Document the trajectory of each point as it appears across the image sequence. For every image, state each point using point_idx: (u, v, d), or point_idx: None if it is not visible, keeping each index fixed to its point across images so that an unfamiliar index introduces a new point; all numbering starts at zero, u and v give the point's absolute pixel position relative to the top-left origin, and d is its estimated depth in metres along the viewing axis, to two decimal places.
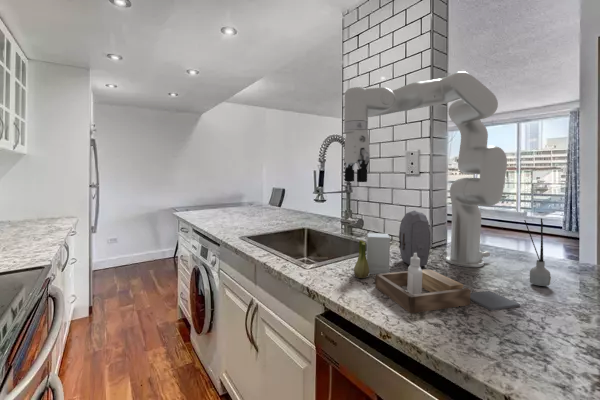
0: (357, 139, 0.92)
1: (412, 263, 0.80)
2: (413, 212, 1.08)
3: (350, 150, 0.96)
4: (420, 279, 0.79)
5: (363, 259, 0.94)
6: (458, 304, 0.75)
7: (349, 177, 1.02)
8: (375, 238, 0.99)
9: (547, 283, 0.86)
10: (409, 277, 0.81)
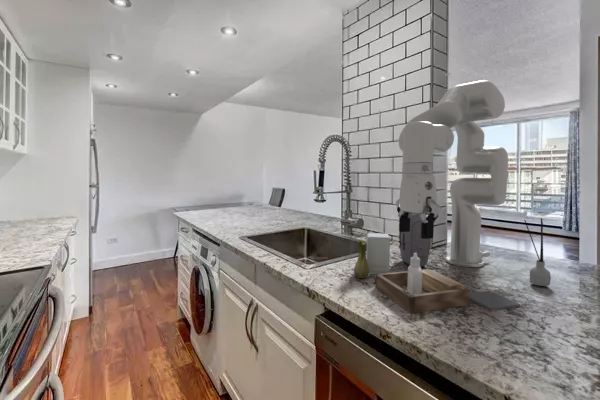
0: (422, 186, 0.74)
1: (412, 263, 0.80)
2: None
3: (410, 197, 0.78)
4: (420, 279, 0.79)
5: (363, 259, 0.94)
6: (458, 304, 0.75)
7: (404, 227, 0.84)
8: (375, 238, 0.99)
9: (547, 283, 0.86)
10: (409, 277, 0.81)
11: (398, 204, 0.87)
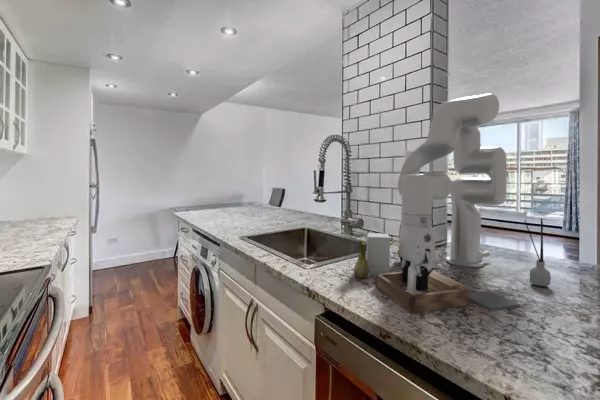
0: (421, 238, 0.76)
1: (412, 263, 0.80)
2: None
3: (409, 247, 0.79)
4: None
5: (363, 259, 0.94)
6: (458, 304, 0.75)
7: None
8: (375, 238, 0.99)
9: (547, 283, 0.86)
10: (409, 277, 0.80)
11: None
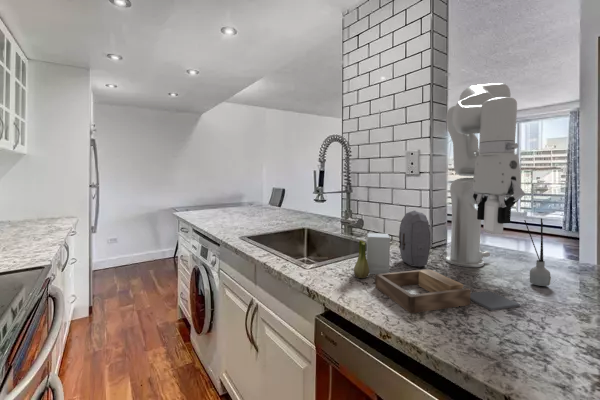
0: (507, 165, 0.71)
1: (492, 196, 0.75)
2: (413, 212, 1.08)
3: (490, 178, 0.74)
4: None
5: (363, 259, 0.94)
6: (458, 304, 0.75)
7: (483, 214, 0.79)
8: (375, 238, 0.99)
9: (547, 283, 0.86)
10: (489, 211, 0.76)
11: (473, 191, 0.82)
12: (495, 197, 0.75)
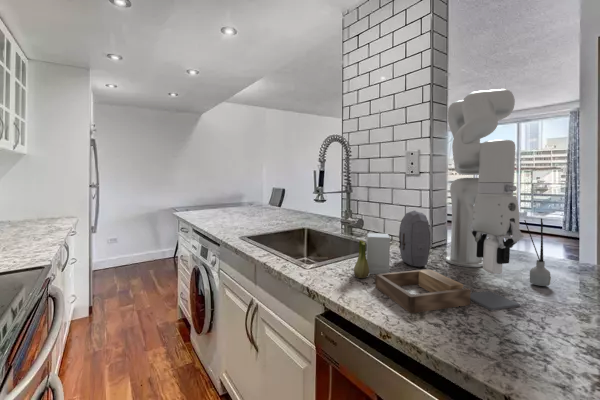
0: (506, 207, 0.71)
1: (491, 235, 0.76)
2: (413, 212, 1.08)
3: (489, 218, 0.75)
4: None
5: (363, 259, 0.94)
6: (458, 304, 0.75)
7: None
8: (375, 238, 0.99)
9: (547, 283, 0.86)
10: (488, 250, 0.76)
11: (472, 228, 0.82)
12: (494, 237, 0.76)
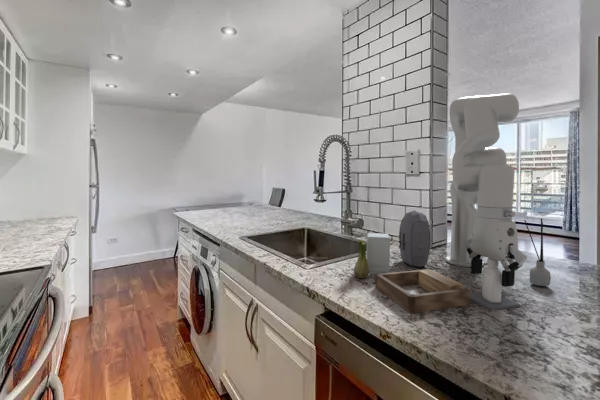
0: (504, 233, 0.72)
1: (490, 264, 0.77)
2: (413, 212, 1.08)
3: (488, 242, 0.75)
4: (500, 281, 0.75)
5: (363, 259, 0.94)
6: (458, 304, 0.75)
7: (477, 269, 0.82)
8: (375, 238, 0.99)
9: (547, 283, 0.86)
10: (487, 279, 0.77)
11: (468, 245, 0.84)
12: (493, 266, 0.76)
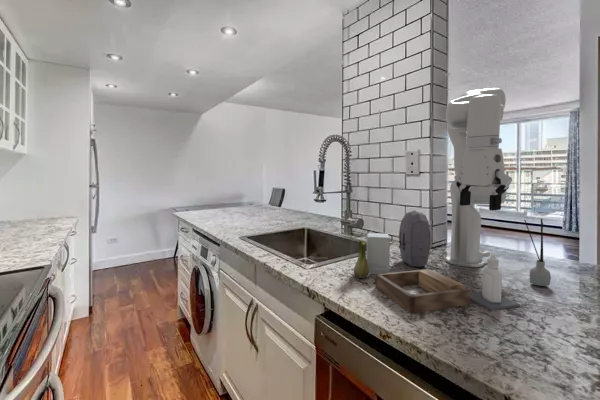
0: (491, 159, 0.76)
1: (490, 264, 0.77)
2: (413, 212, 1.08)
3: (476, 171, 0.79)
4: (500, 281, 0.75)
5: (363, 259, 0.94)
6: (458, 304, 0.75)
7: (465, 200, 0.86)
8: (375, 238, 0.99)
9: (547, 283, 0.86)
10: (487, 279, 0.77)
11: (457, 178, 0.88)
12: (493, 266, 0.76)
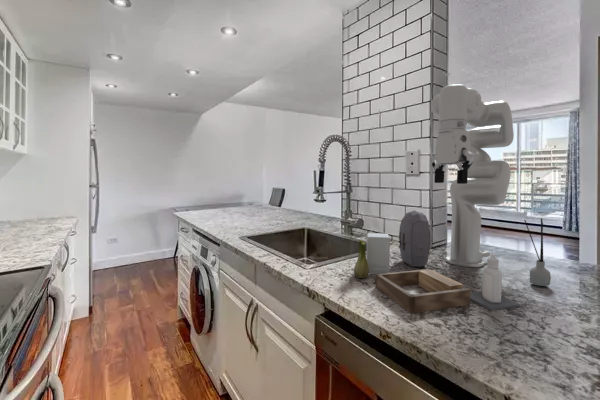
0: (458, 139, 0.88)
1: (490, 264, 0.77)
2: (413, 212, 1.08)
3: (446, 150, 0.91)
4: (500, 281, 0.75)
5: (363, 259, 0.94)
6: (458, 304, 0.75)
7: (439, 178, 0.98)
8: (375, 238, 0.99)
9: (547, 283, 0.86)
10: (487, 279, 0.77)
11: (433, 160, 1.00)
12: (493, 266, 0.76)
